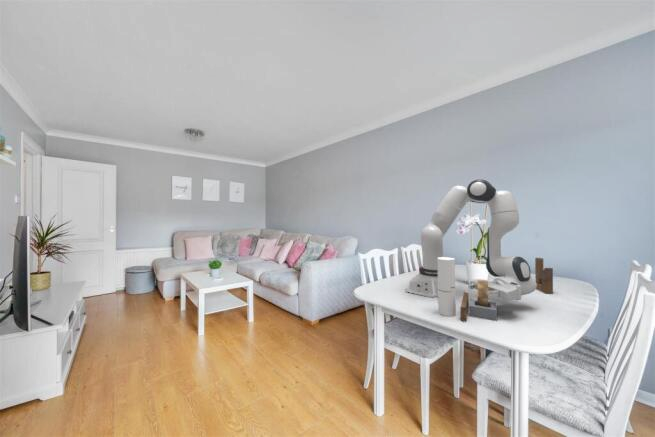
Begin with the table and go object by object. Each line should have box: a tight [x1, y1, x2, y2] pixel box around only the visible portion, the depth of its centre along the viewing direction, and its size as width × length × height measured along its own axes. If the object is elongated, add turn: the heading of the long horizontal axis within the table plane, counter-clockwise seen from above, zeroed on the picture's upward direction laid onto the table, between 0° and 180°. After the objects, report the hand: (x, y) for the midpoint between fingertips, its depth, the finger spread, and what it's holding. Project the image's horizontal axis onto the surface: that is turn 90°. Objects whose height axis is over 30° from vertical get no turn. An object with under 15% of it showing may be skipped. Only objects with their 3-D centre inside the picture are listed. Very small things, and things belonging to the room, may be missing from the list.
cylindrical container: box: [437, 256, 457, 317], centre depth 112 cm, size 7×7×25 cm
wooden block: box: [534, 257, 554, 295], centre depth 140 cm, size 4×11×18 cm, turn 167°
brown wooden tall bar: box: [476, 279, 489, 307], centre depth 110 cm, size 4×4×14 cm
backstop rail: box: [460, 291, 470, 322], centre depth 113 cm, size 2×22×6 cm, turn 148°
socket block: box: [468, 298, 498, 322], centre depth 110 cm, size 10×10×5 cm
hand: (477, 290), depth 111 cm, fingers open, 8 cm apart
